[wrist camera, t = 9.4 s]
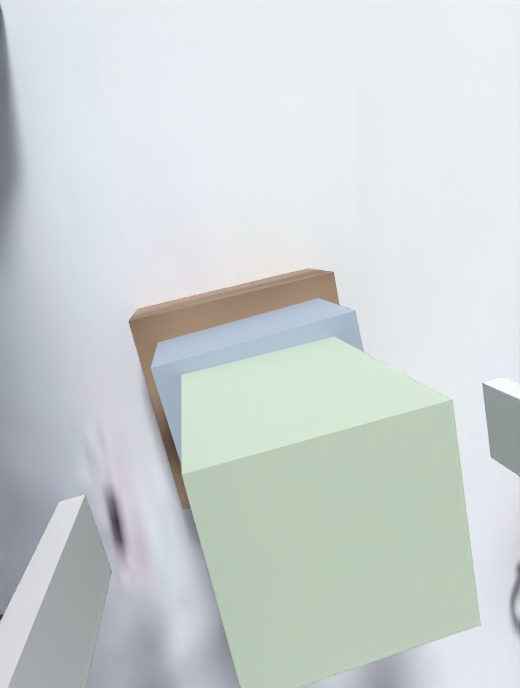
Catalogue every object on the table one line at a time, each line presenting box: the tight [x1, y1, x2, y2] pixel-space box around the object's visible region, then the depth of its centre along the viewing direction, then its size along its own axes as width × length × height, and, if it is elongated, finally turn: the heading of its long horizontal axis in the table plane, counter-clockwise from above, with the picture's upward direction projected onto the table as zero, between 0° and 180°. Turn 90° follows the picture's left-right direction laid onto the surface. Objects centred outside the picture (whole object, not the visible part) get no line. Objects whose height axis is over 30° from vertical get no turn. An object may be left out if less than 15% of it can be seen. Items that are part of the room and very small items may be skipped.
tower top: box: [151, 298, 364, 465], centre depth 21 cm, size 8×8×5 cm
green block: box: [181, 337, 481, 688], centre depth 14 cm, size 6×6×8 cm
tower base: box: [129, 269, 339, 509], centre depth 25 cm, size 10×10×5 cm
